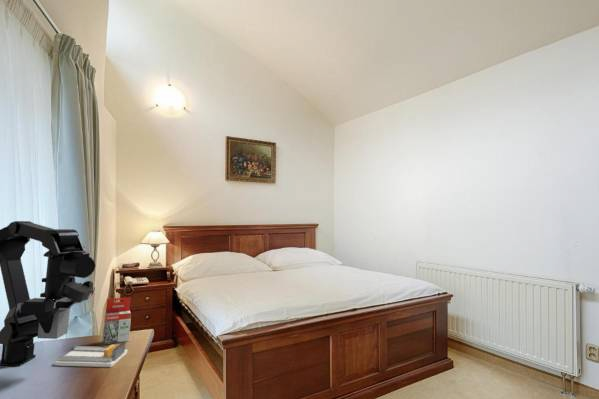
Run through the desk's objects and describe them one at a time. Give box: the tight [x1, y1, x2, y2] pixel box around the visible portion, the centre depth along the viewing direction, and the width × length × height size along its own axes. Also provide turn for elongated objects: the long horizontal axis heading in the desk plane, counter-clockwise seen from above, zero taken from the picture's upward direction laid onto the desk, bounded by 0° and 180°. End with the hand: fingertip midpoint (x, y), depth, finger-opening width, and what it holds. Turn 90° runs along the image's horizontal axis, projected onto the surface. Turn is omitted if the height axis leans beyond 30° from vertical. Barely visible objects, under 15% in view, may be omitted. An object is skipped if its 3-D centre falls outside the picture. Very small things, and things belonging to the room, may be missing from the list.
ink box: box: [102, 296, 132, 345], centre depth 113 cm, size 4×8×15 cm, turn 123°
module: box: [37, 307, 71, 340], centre depth 90 cm, size 5×4×7 cm
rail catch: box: [104, 343, 117, 357], centre depth 99 cm, size 1×4×2 cm, turn 3°
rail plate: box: [54, 341, 128, 368], centre depth 99 cm, size 16×10×4 cm, turn 94°
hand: (53, 329), depth 90 cm, fingers closed on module, 4 cm apart
